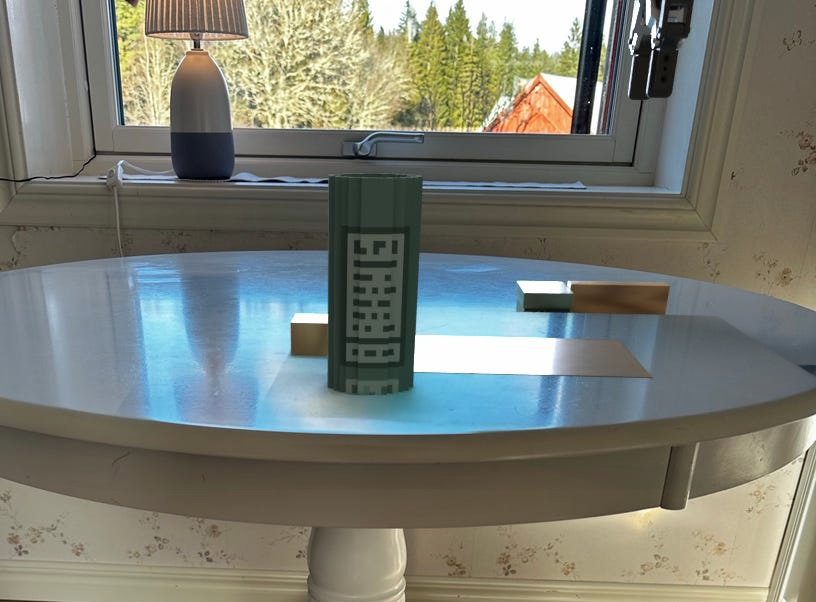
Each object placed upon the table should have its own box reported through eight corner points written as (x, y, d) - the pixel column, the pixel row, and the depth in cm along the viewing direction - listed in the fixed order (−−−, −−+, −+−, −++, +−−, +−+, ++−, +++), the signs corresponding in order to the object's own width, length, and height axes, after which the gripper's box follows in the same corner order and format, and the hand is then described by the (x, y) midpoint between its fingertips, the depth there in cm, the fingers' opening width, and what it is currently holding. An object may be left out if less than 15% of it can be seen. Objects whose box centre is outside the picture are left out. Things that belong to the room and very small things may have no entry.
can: (407, 393, 72) (416, 173, 65) (415, 415, 67) (426, 178, 60) (326, 393, 72) (327, 172, 65) (328, 415, 67) (329, 177, 60)
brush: (653, 312, 104) (658, 278, 102) (670, 326, 97) (676, 290, 95) (514, 309, 104) (517, 275, 103) (521, 323, 97) (524, 287, 96)
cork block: (343, 314, 79) (295, 313, 79) (340, 323, 76) (290, 322, 76) (343, 363, 81) (296, 362, 81) (340, 374, 78) (291, 373, 78)
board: (616, 356, 84) (618, 339, 83) (650, 397, 72) (653, 377, 71) (389, 351, 85) (389, 334, 84) (384, 391, 73) (385, 371, 72)
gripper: (747, -135, 76) (708, 98, 84) (701, -99, 89) (670, 100, 97) (652, -134, 77) (622, 97, 85) (619, -99, 89) (595, 100, 97)
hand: (648, 99), depth 91 cm, fingers open, 8 cm apart
